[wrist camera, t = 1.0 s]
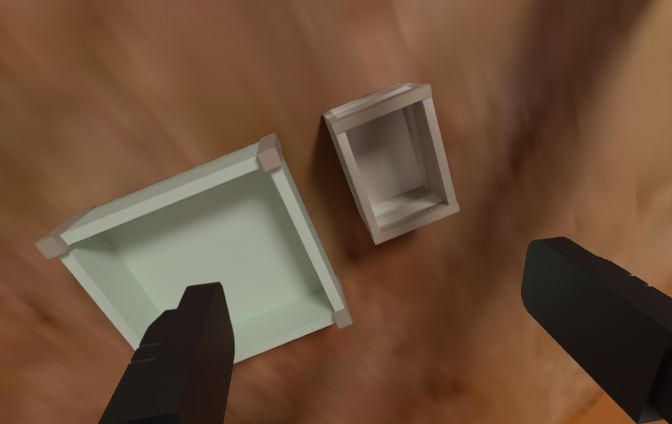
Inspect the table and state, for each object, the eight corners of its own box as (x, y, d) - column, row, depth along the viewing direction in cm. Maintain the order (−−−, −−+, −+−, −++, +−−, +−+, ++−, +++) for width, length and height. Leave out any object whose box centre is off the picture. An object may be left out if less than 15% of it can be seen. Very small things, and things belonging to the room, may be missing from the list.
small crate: (400, 80, 27) (429, 84, 22) (429, 186, 31) (460, 211, 26) (321, 112, 27) (331, 123, 22) (359, 215, 31) (375, 244, 26)
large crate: (275, 132, 27) (274, 147, 22) (342, 284, 33) (353, 323, 28) (79, 211, 27) (34, 243, 22) (181, 349, 33) (164, 399, 28)
